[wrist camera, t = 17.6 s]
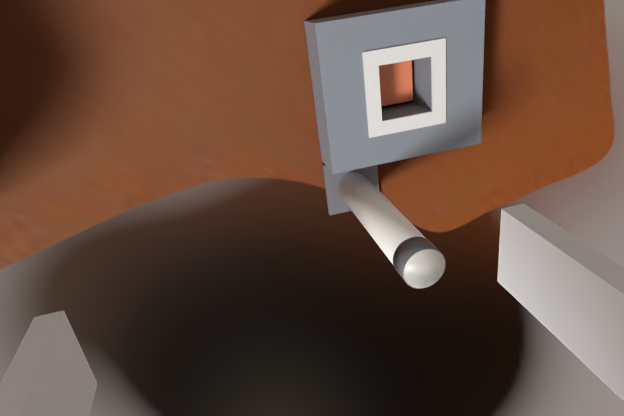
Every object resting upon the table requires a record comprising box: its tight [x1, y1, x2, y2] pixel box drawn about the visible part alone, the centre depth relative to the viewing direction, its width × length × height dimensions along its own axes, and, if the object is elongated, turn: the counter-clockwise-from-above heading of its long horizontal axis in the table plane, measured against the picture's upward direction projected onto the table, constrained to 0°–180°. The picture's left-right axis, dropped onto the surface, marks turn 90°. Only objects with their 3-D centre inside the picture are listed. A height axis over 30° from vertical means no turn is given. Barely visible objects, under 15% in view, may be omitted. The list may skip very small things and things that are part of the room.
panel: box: [304, 0, 485, 174], centre depth 46 cm, size 16×14×5 cm
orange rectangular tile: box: [379, 60, 413, 106], centre depth 47 cm, size 4×4×1 cm
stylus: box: [338, 172, 446, 289], centre depth 43 cm, size 4×4×18 cm
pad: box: [322, 164, 379, 215], centre depth 52 cm, size 6×6×1 cm
